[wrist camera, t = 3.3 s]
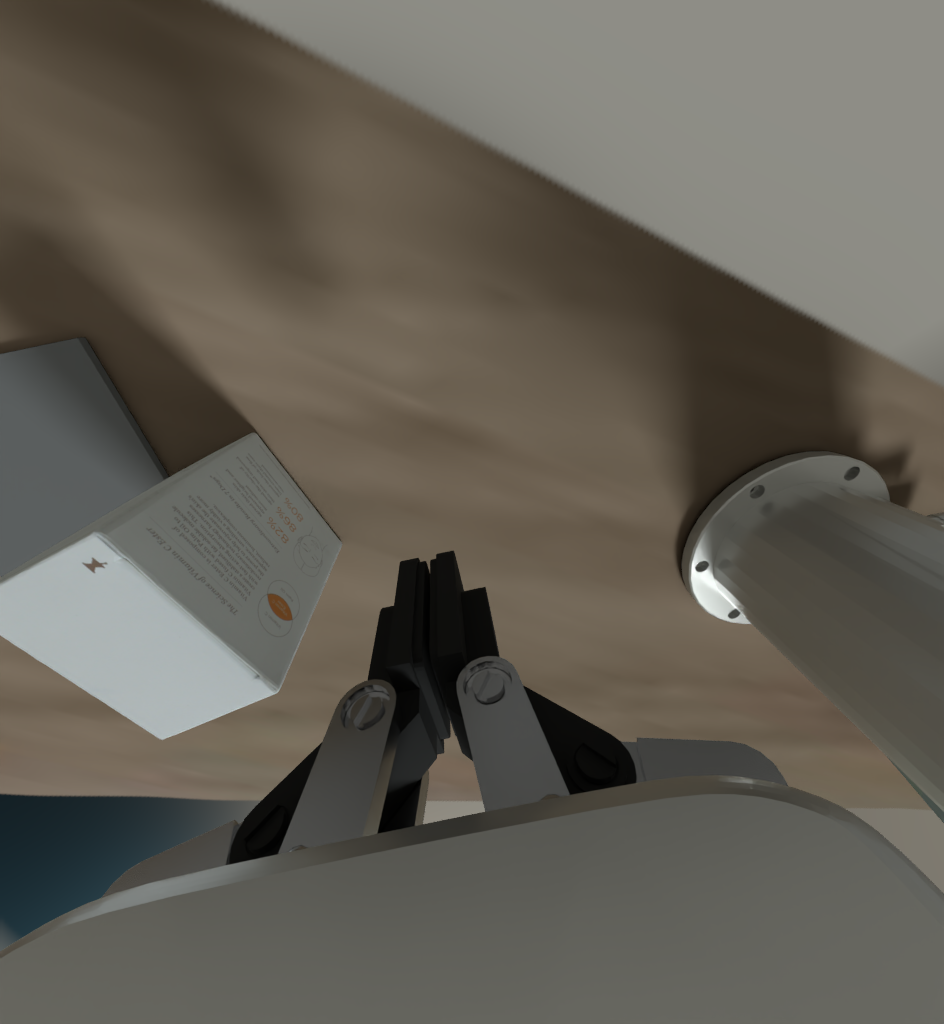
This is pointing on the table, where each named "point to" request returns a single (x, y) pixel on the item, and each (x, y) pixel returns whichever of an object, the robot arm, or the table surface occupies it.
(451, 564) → the robot arm
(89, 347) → the mat
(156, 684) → the small box
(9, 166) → the table surface
